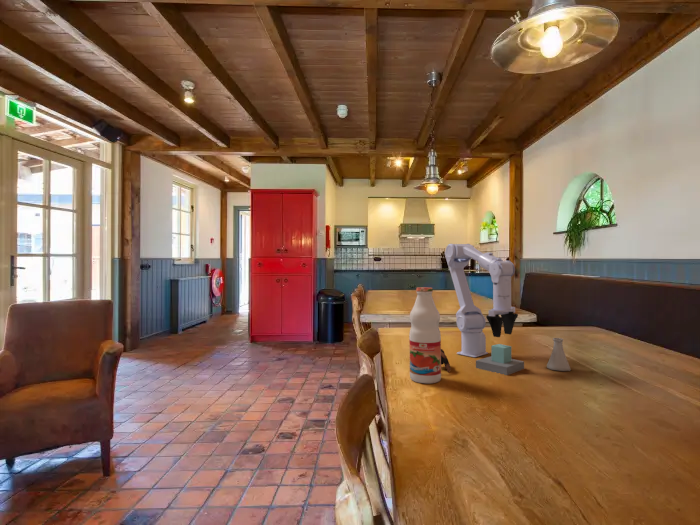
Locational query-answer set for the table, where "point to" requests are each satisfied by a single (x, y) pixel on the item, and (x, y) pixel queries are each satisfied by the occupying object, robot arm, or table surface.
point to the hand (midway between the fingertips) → (502, 335)
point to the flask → (558, 357)
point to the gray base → (500, 366)
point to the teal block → (501, 353)
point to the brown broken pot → (445, 361)
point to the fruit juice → (425, 339)
